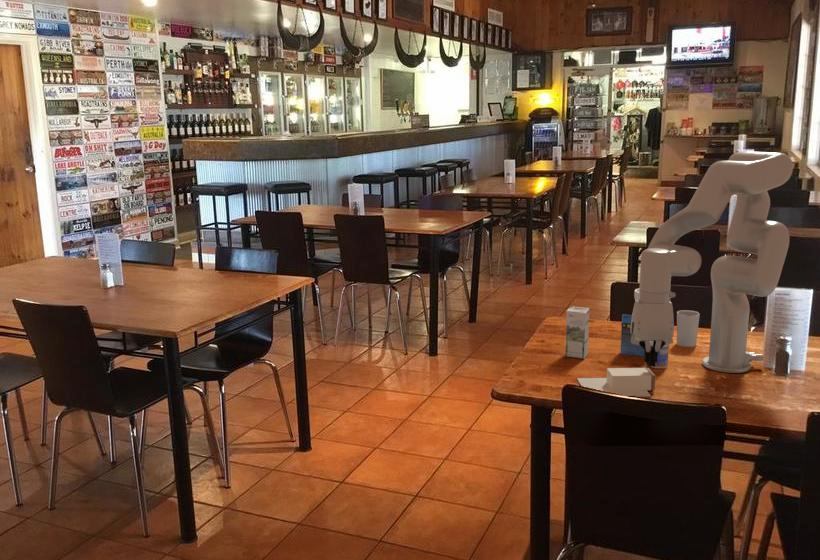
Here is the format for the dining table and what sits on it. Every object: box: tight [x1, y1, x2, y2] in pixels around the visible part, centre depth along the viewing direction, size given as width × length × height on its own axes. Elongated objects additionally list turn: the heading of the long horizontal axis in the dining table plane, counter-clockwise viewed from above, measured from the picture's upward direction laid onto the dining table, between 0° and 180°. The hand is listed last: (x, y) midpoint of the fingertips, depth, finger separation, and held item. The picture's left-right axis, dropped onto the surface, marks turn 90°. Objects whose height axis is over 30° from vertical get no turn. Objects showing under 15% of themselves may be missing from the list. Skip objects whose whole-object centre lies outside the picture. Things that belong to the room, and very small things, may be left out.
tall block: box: [605, 367, 656, 391], centre depth 195 cm, size 4×6×11 cm
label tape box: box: [620, 314, 644, 357], centre depth 222 cm, size 9×4×12 cm, turn 63°
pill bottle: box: [650, 341, 670, 370], centre depth 211 cm, size 5×5×10 cm
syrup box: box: [565, 306, 590, 360], centre depth 221 cm, size 6×6×14 cm
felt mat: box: [576, 377, 652, 398], centre depth 196 cm, size 16×13×1 cm
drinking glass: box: [676, 309, 701, 348], centre depth 230 cm, size 7×7×10 cm
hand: (650, 365), depth 194 cm, fingers closed
